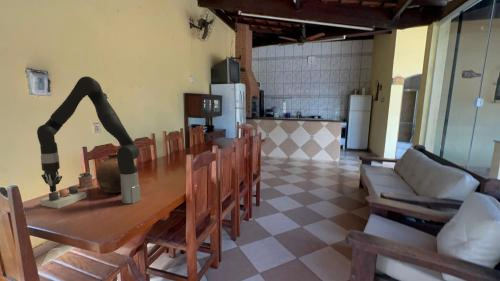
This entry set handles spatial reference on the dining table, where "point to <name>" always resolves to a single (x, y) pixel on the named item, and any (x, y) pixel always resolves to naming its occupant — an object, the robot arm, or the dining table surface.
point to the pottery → (109, 175)
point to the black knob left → (53, 196)
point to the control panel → (63, 200)
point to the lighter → (85, 180)
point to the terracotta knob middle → (63, 192)
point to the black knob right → (73, 189)
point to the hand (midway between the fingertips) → (53, 191)
